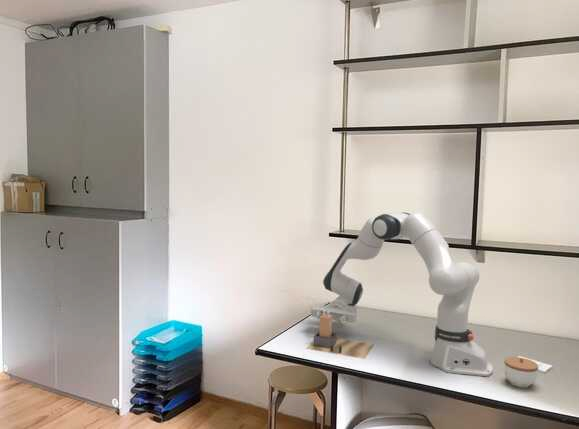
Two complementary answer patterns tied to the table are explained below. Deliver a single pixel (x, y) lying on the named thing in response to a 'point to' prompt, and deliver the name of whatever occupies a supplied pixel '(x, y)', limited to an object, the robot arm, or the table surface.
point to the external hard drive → (541, 366)
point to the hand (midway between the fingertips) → (328, 318)
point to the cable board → (346, 348)
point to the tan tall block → (325, 325)
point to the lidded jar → (520, 371)
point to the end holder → (325, 341)
